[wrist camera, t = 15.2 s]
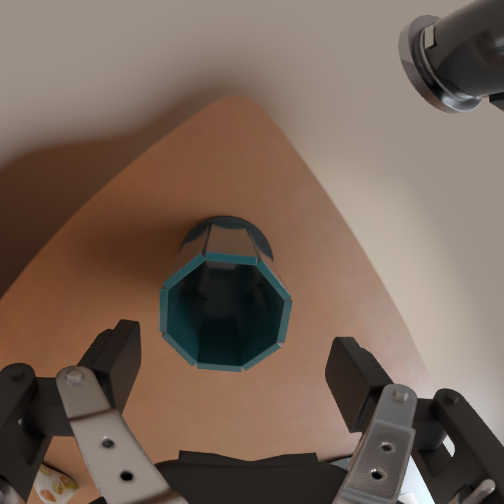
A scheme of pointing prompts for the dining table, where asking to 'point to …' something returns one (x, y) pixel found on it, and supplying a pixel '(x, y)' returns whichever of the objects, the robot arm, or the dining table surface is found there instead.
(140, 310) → the dining table surface
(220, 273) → the teal cup
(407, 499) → the cup
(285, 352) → the dining table surface
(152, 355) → the dining table surface
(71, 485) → the white pear shape
